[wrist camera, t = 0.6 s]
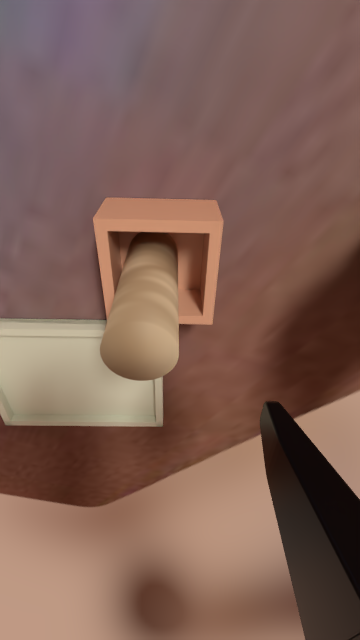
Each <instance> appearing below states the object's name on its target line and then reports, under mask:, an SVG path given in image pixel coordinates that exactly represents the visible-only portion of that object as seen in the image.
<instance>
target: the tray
mask: <svg viewBox="0 0 360 640" xmlns="http://www.w3.org/2000/svg"><path fill="white" fill-rule="evenodd" d="M106 324H107V320H74V319H9V318H0V415H1V417H2V419H3V421H4V423H5V425H28V426H154V427H163V376H162V377H160V378H157V379H153V380H147V381H136V380H130V379H127V378H124V377H121V376H119V375H117V374H115V373H114V372H112V371H111V370H110V369H109V368H108V367H107V366H106V365H105V364H104V362H103V360H102V358H101V355H100V345H101V341H102V338H103V334H104V331H105V327H106Z"/></svg>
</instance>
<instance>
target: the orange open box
mask: <svg viewBox="0 0 360 640" xmlns="http://www.w3.org/2000/svg"><path fill="white" fill-rule="evenodd" d="M93 222H94V229H95V236H96V243H97V250H98V258H99V265H100V272H101V279H102V287H103V294H104V301H105V308H106V316H107V321H108V317H109V314H110V310H111V307H112V303H113V300H114V297H115V293H116V290H117V286H118V283H119V280H120V276H121V273H122V269H123V266H124V262H125V259H126V256H127V252H128V249H129V245H130V243H131V241H132V239H133V238H134V237H135V236H136V235H137V234H138V233H140V232H165V233H166V234H168V235H169V236H170V237H171V238H172V239H173V240H174V242H175V244H176V246H177V249H178V316H179V324H212V322H213V313H214V304H215V294H216V285H217V276H218V267H219V257H220V248H221V239H222V230H223V219H222V216H221V213H220V210H219V207H218V204H217V201H216V200H191V199H149V198H108V197H106V199H105V200H104V202H103V203H102V205H101V207H100V208H99V210H98V211H97V213H96V215H95V216H94V218H93Z"/></svg>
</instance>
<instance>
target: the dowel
mask: <svg viewBox="0 0 360 640" xmlns="http://www.w3.org/2000/svg"><path fill="white" fill-rule="evenodd" d="M100 355H101V358H102V360H103V362H104V364H105V365H106V366H107V367H108V368H109V369H110V370H111V371H112V372H114V373H115V374H117V375H119V376H121V377H124V378H127V379H130V380H136V381H147V380H153V379H157V378H160V377H162V376H164V375H166V374H167V373H169V372H170V371H171V370H172V369H173V368H174V367H175V365H176V363H177V361H178V357H179V316H178V249H177V246H176V244H175V242H174V240H173V239H172V238H171V237H170V236H169V235H168V234H166V233H165V232H140V233H138V234H137V235H136V236H135V237H134V238H133V239H132V241H131V243H130V245H129V249H128V252H127V256H126V259H125V262H124V266H123V269H122V273H121V276H120V280H119V283H118V286H117V290H116V293H115V297H114V300H113V303H112V307H111V310H110V314H109V317H108V321H107V324H106V327H105V331H104V334H103V338H102V341H101V345H100Z"/></svg>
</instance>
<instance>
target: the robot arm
mask: <svg viewBox="0 0 360 640" xmlns="http://www.w3.org/2000/svg"><path fill="white" fill-rule="evenodd" d="M260 429H261V437H262V445H263V453H264V461H265V468H266V475H267V480H268V485H269V489H270V493H271V497H272V501H273V505H274V510H275V514H276V518H277V522H278V526H279V530H280V535H281V539H282V543H283V547H284V552H285V556H286V560H287V564H288V568H289V573H290V576H291V581H292V585H293V589H294V594H295V598H296V602H297V606H298V610H299V615H300V619H301V623H302V627H303V631H304V636H305V640H360V499H359V498H358V497H357V496H356V495H355V493H354V492H353V491H352V490H351V488H350V487H349V486H348V485H347V484H346V482H345V481H344V480H343V479H342V478H341V477H340V475H339V474H338V473H337V472H336V470H335V469H334V468H333V467H332V466H331V464H330V463H329V462H328V461H327V459H326V458H325V457H324V456H323V455H322V453H321V452H320V451H319V450H318V449H317V447H316V446H315V445H314V444H313V443H312V442H311V440H310V439H309V438H308V437H307V435H306V434H305V433H304V432H303V430H302V429H301V428H300V427H299V426H298V424H297V423H296V422H295V421H294V420H293V418H292V417H291V416H290V415H289V413H288V412H287V411H286V410H285V409H284V407H283V406H282V405H281V404H280V403H279V402H277V401H266V402H265V403H264V405H263V409H262V413H261V417H260Z"/></svg>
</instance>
